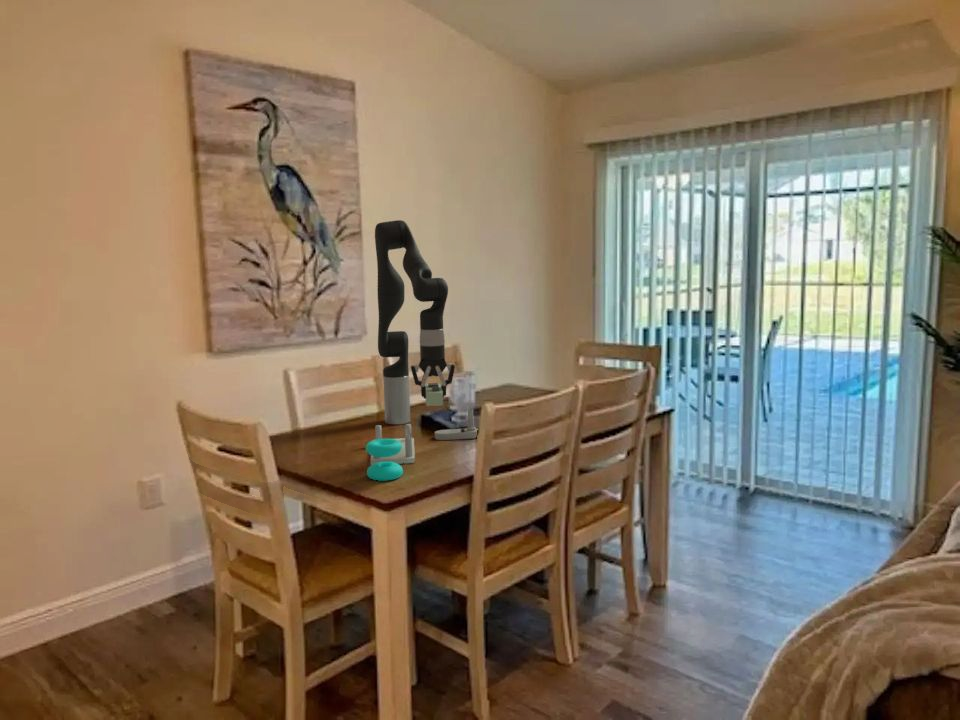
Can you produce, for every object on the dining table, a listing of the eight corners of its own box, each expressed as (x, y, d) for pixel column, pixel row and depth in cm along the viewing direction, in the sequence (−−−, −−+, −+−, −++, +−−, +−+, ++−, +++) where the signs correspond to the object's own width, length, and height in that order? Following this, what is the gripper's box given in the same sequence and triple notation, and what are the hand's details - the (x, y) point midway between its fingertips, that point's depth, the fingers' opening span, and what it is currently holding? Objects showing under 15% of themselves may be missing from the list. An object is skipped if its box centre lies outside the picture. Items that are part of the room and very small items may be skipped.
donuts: (406, 437, 211) (395, 447, 202) (407, 472, 213) (397, 483, 203) (372, 436, 213) (360, 446, 203) (373, 470, 215) (362, 481, 205)
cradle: (373, 444, 244) (373, 424, 243) (413, 442, 245) (413, 422, 244) (370, 465, 220) (369, 443, 219) (415, 462, 222) (414, 441, 221)
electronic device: (433, 409, 251) (478, 406, 251) (435, 437, 253) (479, 435, 253) (433, 413, 246) (478, 410, 246) (434, 442, 247) (480, 439, 248)
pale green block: (425, 396, 239) (424, 381, 239) (440, 396, 240) (440, 381, 239) (426, 406, 226) (426, 390, 225) (443, 405, 226) (442, 389, 225)
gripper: (454, 341, 234) (455, 394, 237) (408, 342, 233) (410, 396, 236) (456, 344, 227) (457, 399, 230) (408, 345, 225) (410, 401, 228)
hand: (433, 397), depth 233 cm, fingers closed on pale green block, 5 cm apart
